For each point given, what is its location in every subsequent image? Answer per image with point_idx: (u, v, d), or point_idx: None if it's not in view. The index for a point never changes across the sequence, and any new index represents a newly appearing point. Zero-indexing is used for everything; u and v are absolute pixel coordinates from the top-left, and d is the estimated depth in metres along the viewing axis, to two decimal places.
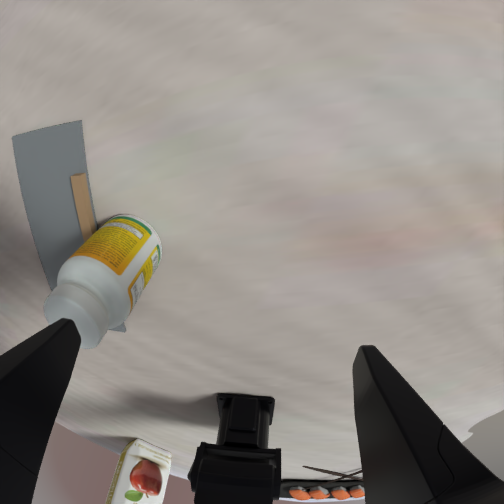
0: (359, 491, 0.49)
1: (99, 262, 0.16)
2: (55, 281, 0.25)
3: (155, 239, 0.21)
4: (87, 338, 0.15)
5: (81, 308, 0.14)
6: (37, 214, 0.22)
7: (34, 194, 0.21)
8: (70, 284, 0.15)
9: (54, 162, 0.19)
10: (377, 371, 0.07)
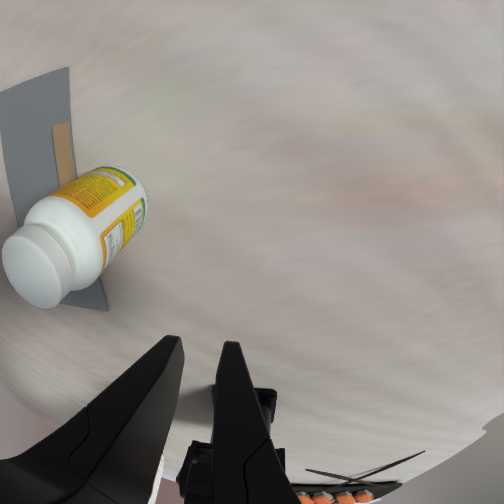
0: (365, 496, 0.45)
1: (69, 202, 0.12)
2: None
3: (140, 191, 0.18)
4: (47, 293, 0.11)
5: (38, 249, 0.10)
6: (17, 175, 0.18)
7: (15, 152, 0.17)
8: (32, 225, 0.11)
9: (37, 114, 0.16)
10: (225, 368, 0.07)
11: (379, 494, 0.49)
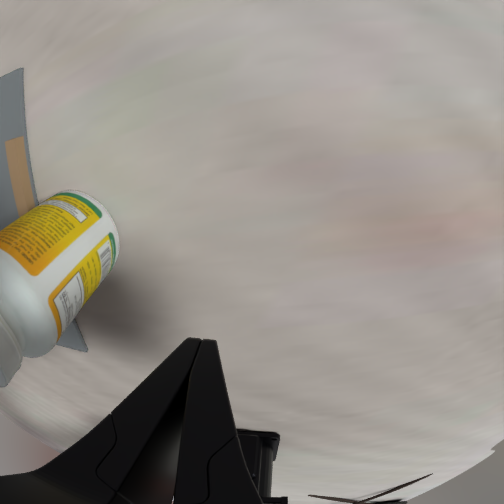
0: None
1: (6, 254, 0.08)
2: None
3: (107, 225, 0.14)
4: None
5: None
6: None
7: None
8: None
9: None
10: (199, 365, 0.07)
11: None
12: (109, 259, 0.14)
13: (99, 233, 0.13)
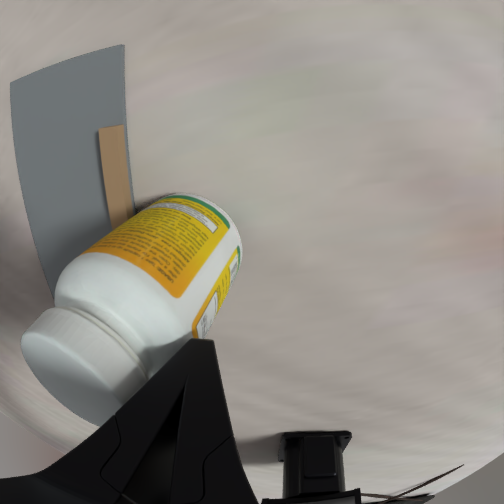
0: None
1: (136, 268, 0.08)
2: None
3: (235, 237, 0.13)
4: (105, 417, 0.07)
5: (89, 369, 0.06)
6: (38, 197, 0.14)
7: (35, 165, 0.13)
8: (71, 310, 0.07)
9: (71, 112, 0.12)
10: (196, 365, 0.07)
11: None
12: (234, 275, 0.13)
13: (230, 246, 0.13)
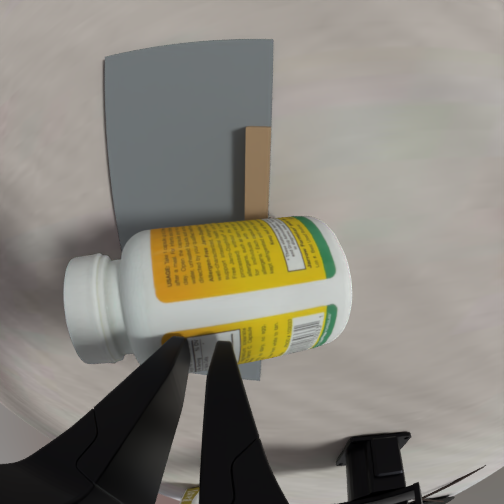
0: None
1: (148, 257, 0.09)
2: None
3: (334, 293, 0.10)
4: None
5: None
6: (137, 196, 0.14)
7: (138, 158, 0.13)
8: (97, 260, 0.09)
9: (201, 102, 0.12)
10: (216, 367, 0.07)
11: None
12: (314, 335, 0.10)
13: (311, 298, 0.10)
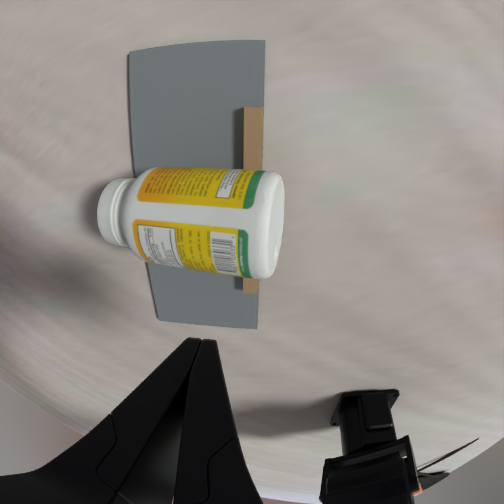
0: None
1: (144, 177, 0.14)
2: None
3: (246, 221, 0.13)
4: None
5: (101, 194, 0.15)
6: (155, 163, 0.18)
7: (157, 133, 0.17)
8: (129, 179, 0.16)
9: (209, 88, 0.15)
10: (199, 365, 0.07)
11: (426, 486, 0.48)
12: (231, 255, 0.13)
13: (226, 220, 0.13)
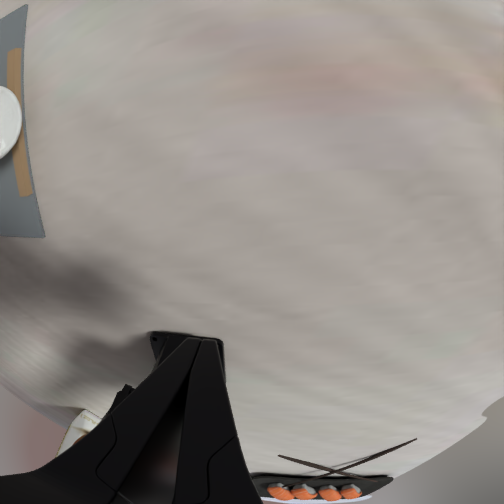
0: (351, 491, 0.42)
1: None
2: None
3: None
4: None
5: None
6: None
7: None
8: None
9: None
10: (199, 365, 0.07)
11: (369, 490, 0.46)
12: None
13: None
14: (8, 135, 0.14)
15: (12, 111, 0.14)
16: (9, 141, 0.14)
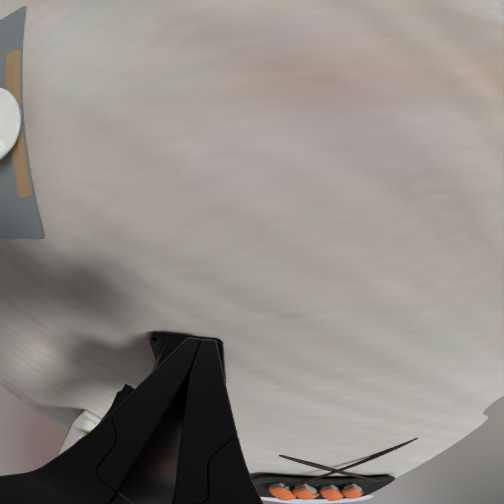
0: (353, 491, 0.41)
1: None
2: None
3: None
4: None
5: None
6: None
7: None
8: None
9: None
10: (199, 365, 0.07)
11: (370, 490, 0.46)
12: None
13: None
14: (7, 136, 0.14)
15: (11, 112, 0.14)
16: (8, 142, 0.14)
